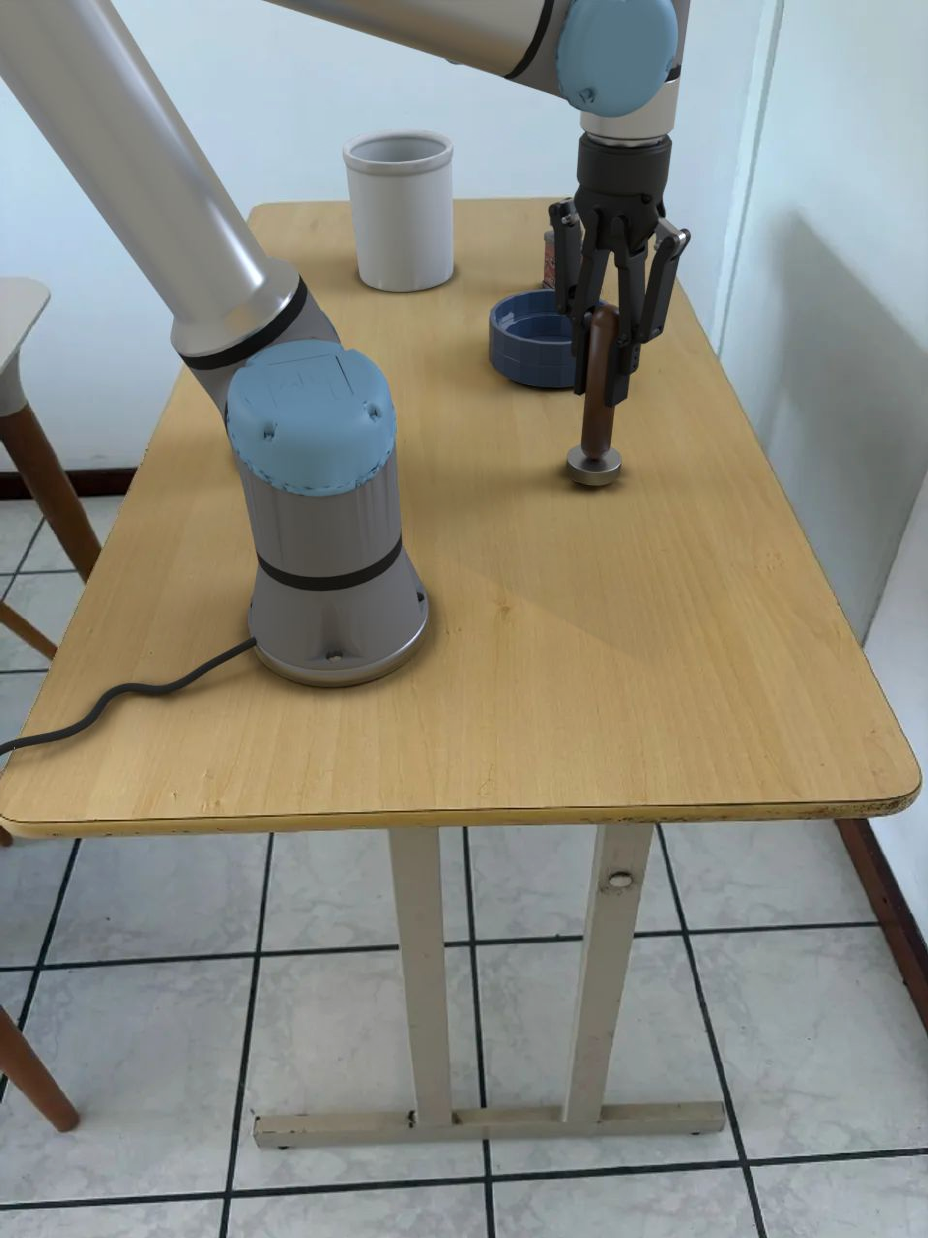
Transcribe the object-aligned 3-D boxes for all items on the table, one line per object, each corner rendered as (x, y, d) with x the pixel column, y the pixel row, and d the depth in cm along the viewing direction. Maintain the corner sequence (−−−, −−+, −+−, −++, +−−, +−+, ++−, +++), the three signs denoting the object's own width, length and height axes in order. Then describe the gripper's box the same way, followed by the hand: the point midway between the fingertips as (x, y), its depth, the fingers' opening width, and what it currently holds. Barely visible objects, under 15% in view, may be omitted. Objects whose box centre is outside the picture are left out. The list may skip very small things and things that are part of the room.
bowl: (562, 405, 110) (565, 356, 106) (464, 365, 118) (463, 318, 114) (637, 358, 118) (643, 311, 114) (541, 323, 126) (542, 278, 122)
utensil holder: (382, 303, 131) (372, 168, 120) (337, 267, 141) (324, 138, 129) (474, 280, 137) (474, 148, 125) (425, 246, 146) (420, 122, 135)
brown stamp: (599, 492, 95) (617, 324, 84) (554, 471, 98) (565, 306, 87) (631, 469, 99) (652, 303, 87) (587, 450, 101) (602, 287, 90)
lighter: (592, 300, 131) (597, 226, 124) (572, 307, 130) (577, 232, 123) (555, 281, 136) (558, 209, 129) (536, 287, 135) (539, 214, 128)
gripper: (738, 141, 75) (692, 408, 91) (574, 106, 83) (558, 357, 99) (687, 163, 71) (648, 439, 87) (519, 124, 79) (511, 383, 95)
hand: (600, 395), depth 93 cm, fingers closed on brown stamp, 3 cm apart
